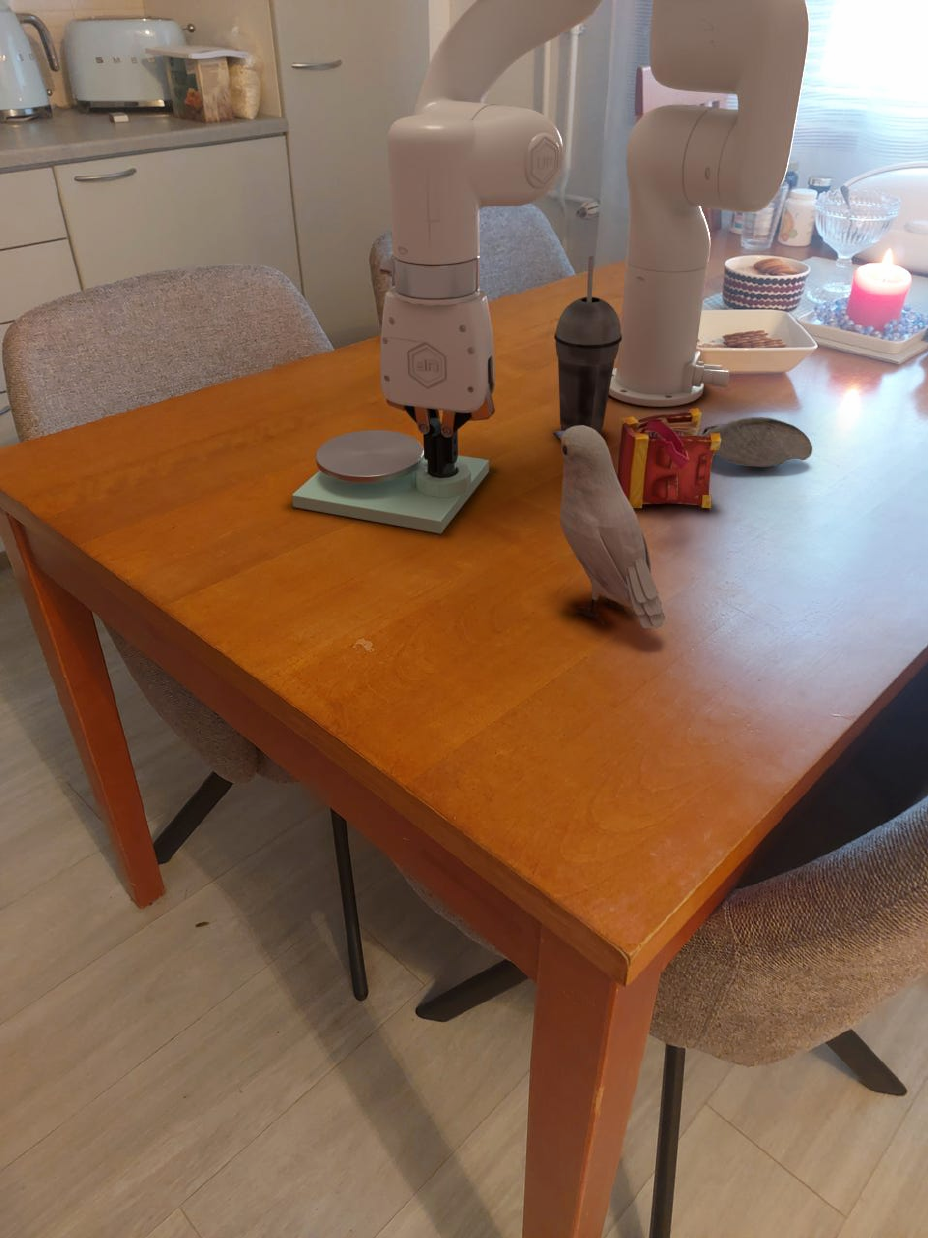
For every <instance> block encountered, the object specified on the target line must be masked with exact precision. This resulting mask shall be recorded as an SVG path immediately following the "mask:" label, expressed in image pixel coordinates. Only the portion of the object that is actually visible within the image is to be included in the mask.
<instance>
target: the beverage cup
mask: <svg viewBox="0 0 928 1238" xmlns="http://www.w3.org/2000/svg"><path fill="white" fill-rule="evenodd" d="M594 259H595V257H594V256H593V255H590V256H588V264H587V265H588V269H587V284H586V285H587V286H586V290H587V291H586V296H584V297H580V298H577V299H575V300H573V301H572V302H571V303H569V304H568V305H567V306H566V307H565V308H564V310H563V311H562V313H561V315H559V319H558V321H557V324H556V328H555V333H554V335H553V338H554V341H555V351H556V357H557V369H558V396H559V397H558V399H559V401H558V402H559V424H560V431H566V430H567V429H569V428H571V427H573V426H580V425H584V426H587V427H590V428H592V429H594V430H596V431H597V432H598V433H599V434H600V435H601V434H602V432H603V426H604V424H605V418H606V411H607V406H608V400H609V396H610V395H609V389H610V383H611V378H612V372H613V369H614V366H615V360H616V359H617V357H618V349H619V343H620V342H621V341H622V335H621V326H620V325H621V320H620V318H619V315H618V314H617V311H616V310H615V309H614V307H613V306H612V305H611V304H610V303H609V302H607V301H606V300H604V299H603V298H600V297H597V296H593V281H594ZM601 436H602V435H601Z"/></svg>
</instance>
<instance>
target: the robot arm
mask: <svg viewBox="0 0 928 1238" xmlns="http://www.w3.org/2000/svg"><path fill="white" fill-rule="evenodd" d="M603 2H604V0H471V2H469V4H468V5H467V6H466V7H465V9H464V10H463V11H462V12H461V13H460V15H459V16H458V17H457V18H456V20H455V21H454V22H453V23H452V25H451V26H450V27H449V28H448V30H447V31H446V32H445V34H444V35H443V37H442V38H441V40H440V42H439V44H438V45H437V47H436V49H435V51H434V53H433V55H432V57H431V60H430V62H429V65H428V67H427V70H426V73H425V75H424V78H423V81H422V84H421V88H420V90H419V94H418V97H417V100H416V102H415V106H414V110H413V113H412V115H408V116H404V117H401V118H399V119H397V120H395V121H394V122H393V123H392V124H391V126H390V127H389V129H388V133H387V137H386V138H387V139H386V141H387V142H386V143H387V166H388V168H387V169H388V186H389V189H388V190H389V205H390V206H389V207H390V208H389V209H390V225H391V226H390V227H391V247H392V255H390V257H389V258H381V260H380V263H379V272H380V274H381V275H386V276H387V275H388V277H391V286H392V287H393V288H391V289H389V290H387V291H386V292H385V296H384V302H383V311H382V319H381V331H380V346H379V347H380V350H379V351H380V354H379V372H380V373H379V375H380V390H381V393H382V396H383V397H384V398H385V401H386V404H387V405H388V406H390V407H392V408H395V409H396V410H399V411H402V412H406V414H407V415H408V416H409V417H410V418H411V419H412V420H413V422H415V423H416V425H417V430H418V431H419V433H420V434H422V436H423V437H422V438H423V439H422V440H423V450H424V458H425V460H428V472H431V473H434V472H436V471H437V472H438V474H445V473H446V471H447V470H448V469H449V468H450V467H451V466H452V464H454V463H455V462H456V461H457V458H458V455H459V435H458V434H459V431H458V430H459V429H461V428H462V427H463V426H465V424H466V423H468V422H470V421H471V422H476V421H477V422H478V421H484V420H485V421H487V420H490V418H491V417H492V416H493V415H494V414H495V412H496V409H495V404H494V400H493V393H494V392H495V385H496V384H495V383H496V361H495V345H494V335H493V333H494V332H493V325H492V317H491V312H490V307H489V306H490V305H489V302H488V297H487V293H486V291H483V290H480V252H481V251H480V242H481V241H480V237H481V235H480V234H481V232H480V230H481V229H480V227H481V226H480V223H481V220H480V219H481V216H480V213H481V210H482V209H483V208H485V207H486V208H487V207H521V206H525V205H526V206H527V205H529V204H533V203H534V202H536V201H538V200H541V198H543V197H544V196H546V195H547V194H548V193H549V192H550V191H551V189H552V188H553V187H554V185H555V184H556V182H557V181H558V178H559V177H560V174H561V171H562V168H563V165H564V145H563V141H562V140H563V139H562V137H561V134H560V132H559V130H558V129H557V127H556V125H555V124H554V123H553V122H552V121H551V120H550V119H549V118H548V117H547V116H545V115H544V114H542V113H541V112H538V111H536V110H534V109H531V108H526V107H521V106H512V105H511V106H510V105H499V104H494V103H484V102H485V100H486V98H487V96H488V95H489V93H490V91H491V89H492V88H493V87H494V85H495V84H496V82H497V81H498V79H499V78H500V77H501V76H502V75H503V74H504V73H505V72H506V70H507V69H509V67H511V66H512V65H513V64H514V63H515V62H516V61H518V60H519V59H520V58H522V57H523V56H525V55H526V54H528V53H529V52H531V51H533V50H534V49H536V48H538V47H540V46H542V45H544V44H545V43H548V42H550V41H551V40H553V39H556V38H557V37H559V36H561V35H562V34H564V33H566V32H569V31H570V30H572V29H573V28H575V27H577V26H579V25H580V24H582V23H584V22H585V21H587V20H588V19H589V18H591V17H592V16H593V15H594V14H595V13H596V12H597V11H598V9H600V7H601V6H602V3H603ZM650 16H651V18H650V32H649V55H648V56H649V57H648V58H649V67H650V71H651V74H652V76H653V78H654V80H655V81H656V82H657V83H658V84H659V85H661V86H663V87H665V88H669V89H672V90H678V91H684V92H685V91H686V92H697V93H711V94H722V95H723V94H725V95H736V97H737V108H727V107H726V108H725V107H718V106H710V105H709V106H707V105H696V104H695V105H694V104H668V105H667V104H666V105H662V106H658V107H655V108H653V109H651V110H650V111H648V112H646V113H645V114H643V115H642V116H641V117H640V118H639V120H637V122H636V123H635V125H634V126H633V128H632V130H631V133H630V136H629V137H628V142H627V146H626V157H625V158H626V159H625V161H626V162H625V163H626V164H625V165H626V177H627V189H628V202H629V203H628V205H629V207H628V208H629V210H628V211H629V214H628V215H629V218H628V219H629V220H628V236H627V237H628V239H627V248H626V249H627V250H626V261H625V270H624V271H625V272H624V281H623V293H622V305H621V315H620V326H621V335H622V341H621V342H620V343H619V349H618V353H617V357H616V359H617V360H616V367H615V368H614V367H613V372H612V378H611V383H610V389H609V395H608V396H610V397H612V398H614V399H615V400H618V401H621V402H623V403H627V404H631V405H636V406H640V407H641V406H642V407H651V408H652V407H653V408H669V407H676V406H683V405H686V404H689V403H693V402H694V401H696V400H697V399H699V398H700V397H701V396H702V395H703V392H704V388H705V385H712V386H713V387H721V388H728V386H729V382H730V376H731V371H729V370H723V365H719V364H705V363H704V361H700V358H701V351H700V350H697V347H698V339H699V333H700V326H701V325H700V324H701V319H702V311H703V305H704V304H703V303H704V297H705V288H706V283H707V276H708V268H709V264H710V259H711V258H710V257H711V236H710V235H711V234H710V231H709V226H708V223H707V220H706V218H705V215H704V212H703V211H702V208H706V209H707V208H708V209H715V210H722V211H728V212H737V213H755V212H759V211H762V210H764V209H765V208H767V207H768V206H769V205H770V204H771V203H773V201H774V200H775V198H776V197H777V196H778V194H779V192H780V190H781V189H782V186H783V183H784V181H785V177H786V174H787V171H788V167H789V162H790V156H791V153H792V145H793V141H794V134H795V130H796V129H795V128H796V123H797V117H798V110H799V105H800V100H801V93H802V89H803V88H802V87H803V81H804V76H805V70H806V64H807V58H808V51H809V42H810V16H809V9H808V5H807V1H806V0H652V5H651V15H650ZM440 411H442V418H441V417H440Z"/></svg>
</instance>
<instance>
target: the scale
mask: <svg viewBox="0 0 928 1238" xmlns="http://www.w3.org/2000/svg"><path fill="white" fill-rule="evenodd" d="M454 465H455V467H456V475H454V476H452V477H448V478H437V477H433V476H431V475H430V472H428V460H425V458H424V460H423V462H422V464H421V465H420V467H419V468H417V469H416V470H415V471H413V472H412V473H410V474H408V475H406V476H404V477H401V478H398V479H394V480H390V481H385V482H378V483H351V482H345V481H340V480H336V479H333V478H331V477H329V476H327V475H325V474H324V473H322V472H321V471H320V470H319V469H318V470H317V472H316V473H315V474H314V475H312V476H311V477H310V478H309V479H308V480H306V481H305V483H304V484H302V485H301V486H300V487H299V488H297V490H296V491H295V492H293V493H292V494H291V500H292V507H293V508H296V509H301V510H307V511H313V512H317V513H323V514H324V513H325V514H329V515H336V516H341V517H345V518H352V519H357V520H362V521H368V522H373V523H380V524H384V525H390V526H397V527H400V528H401V527H402V528H406V529H407V528H408V529H412V530H413V529H414V530H418V531H424V532H430V533H434V534H440V535H441V534H442V533H443V532H444V530H445V529H446V528H447V526H449V524H450V522H451V521H452V520H453V519H454V518H455V516H456V515H458V514H457V513H458V512H459V511H460V510H461V509H462V507H463V506H464V505H465V503H466V502H467V501H468V499H469V498H470V497H471V496H472V495H473V494H474V492H475V491H476V489H477V488H478V486H479V485H480V484H481V482H482V481H483V480H484V479H485V478H486V476H487V475H488V473H490V459H484V458H478V457H470V456H466V455H459V454H458V458H457V461H456V462H455V463H454Z"/></svg>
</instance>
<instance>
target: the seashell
mask: <svg viewBox="0 0 928 1238" xmlns="http://www.w3.org/2000/svg"><path fill="white" fill-rule="evenodd" d="M710 433H720V437H721V444H720V447H719V450H715V452H714V456H719V457H721V458H722V460H723V461H725V462H728V463H731V464H734V465H739V466H746V467H747V466H748V467H756V468H759V467H760V468H766V467H772V466H773V467H774V466H779V465H782V464H784V463H785V462H788V461H791V460H799V461H806V460H807V459H810V457H811V456H812V453H813V445H812V443H811V440H810V439H809V437H808V436H807V434H806V433H805V432H804V431H802V430H801V429H800V428H798V427H797V426H795V425H793V424H791V423H787V422H786V421H784V420H783V421H782V420H780V419H776V418H772V417H764V416H750V417H743V418H739V419H734V420H729V421H728V422H725V423H715V424H710V425H706V426H705V427H704V428H703V430H702V432H701V435H700V436H710Z"/></svg>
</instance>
